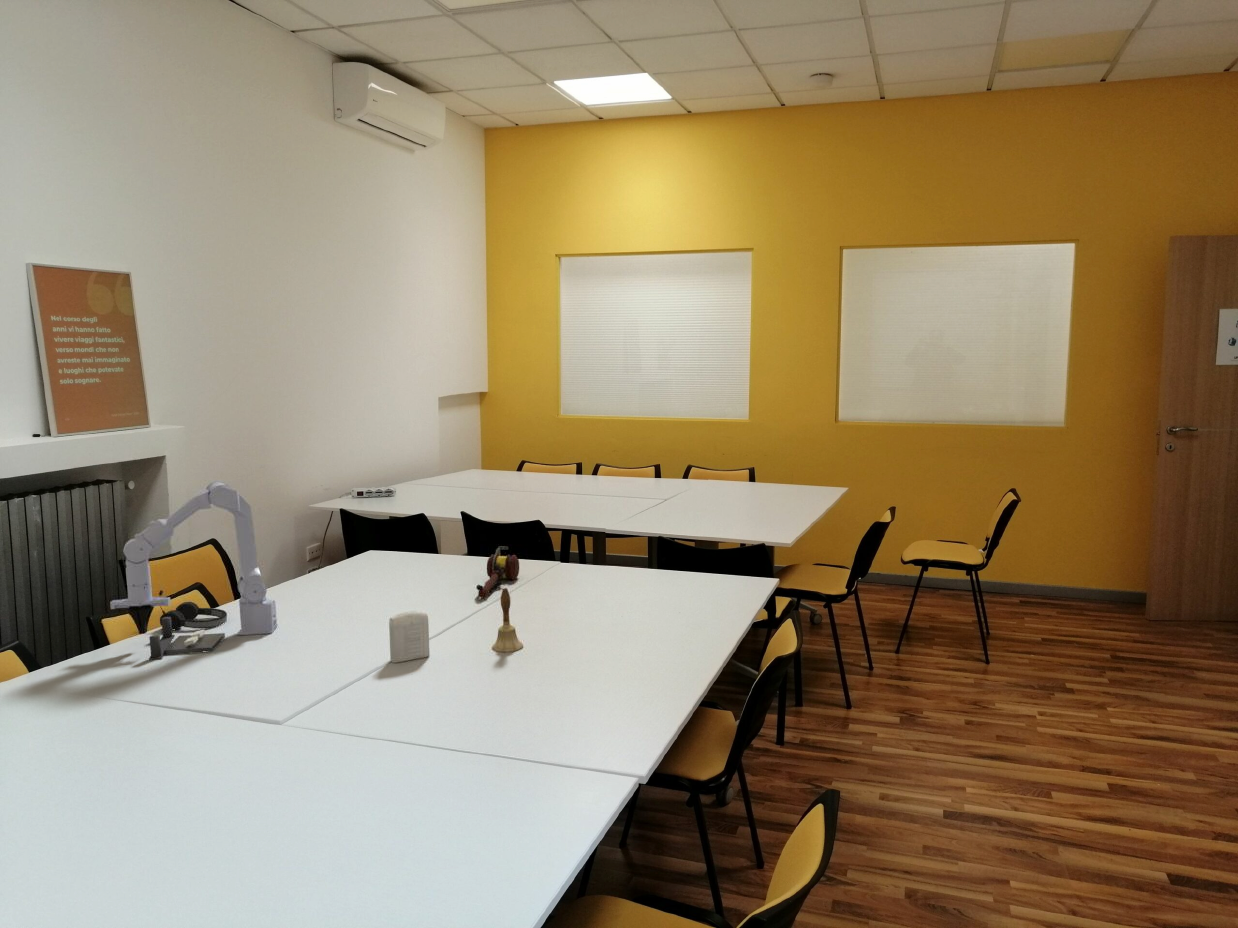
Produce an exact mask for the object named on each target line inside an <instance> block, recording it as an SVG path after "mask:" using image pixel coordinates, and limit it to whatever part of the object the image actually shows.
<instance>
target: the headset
mask: <svg viewBox="0 0 1238 928" xmlns="http://www.w3.org/2000/svg"><path fill="white" fill-rule="evenodd" d="M163 593H164V591H163V590H162V589H161V590H159V593H158V596H159V597H162V596H163ZM159 607H160V610H161V611H162V614H161V615H160V617H159V624H160V626H161V627H162V620H161V619H162V618H164V617H171V625H172V631H176V630H179V629H182V627H183V628H190V629H201V630H204V629H212V628H211V627H213V628H216V626H217V627H220V626H222V625H221V624H223V623H224V624H226V623H227V619H228V618H227V617H228V613H227V611H225V610H224V609H221V608H220V609H219V608H214V607H213V608H211V607H199V605H198V604H196V603H195V602H193V601H184V602H182V603H180V604H179V605H177V607H175V609H173V610H172V609H171V610H169V611H167V612H165V610H163V608H162V606H159ZM198 616H209V617H210V616H211V617H216V618H212V619H205V620H203V619H202V620H201V619H199V620H197V619H196V618H197V617H198ZM225 622H226V623H225ZM224 624H223V625H224ZM219 625H220V626H219ZM174 629H175V630H174Z"/></svg>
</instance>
